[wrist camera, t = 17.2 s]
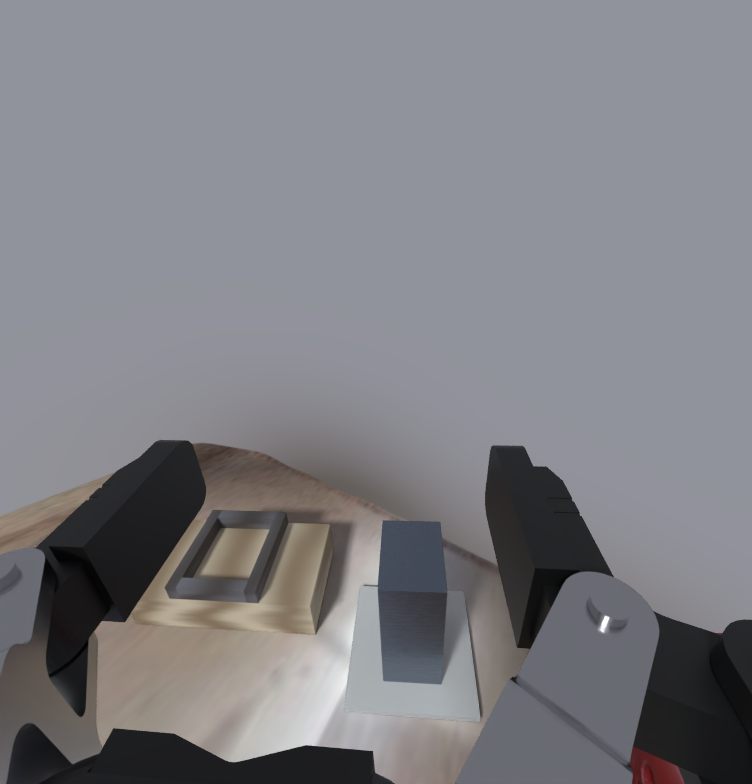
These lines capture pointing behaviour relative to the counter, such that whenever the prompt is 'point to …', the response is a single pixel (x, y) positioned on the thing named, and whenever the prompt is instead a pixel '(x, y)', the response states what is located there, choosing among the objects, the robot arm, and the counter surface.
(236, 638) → the counter surface
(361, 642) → the rubber mat
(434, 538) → the brushed metal block
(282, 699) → the counter surface
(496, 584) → the counter surface
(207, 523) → the tan piece
